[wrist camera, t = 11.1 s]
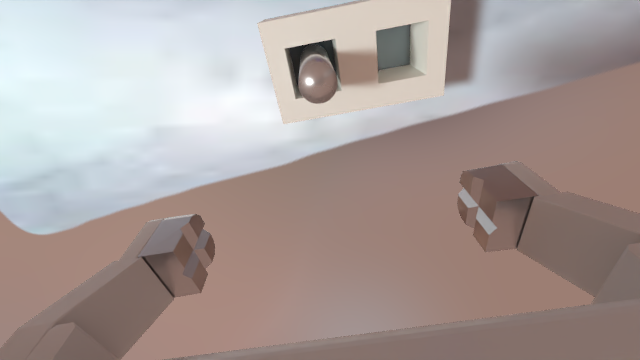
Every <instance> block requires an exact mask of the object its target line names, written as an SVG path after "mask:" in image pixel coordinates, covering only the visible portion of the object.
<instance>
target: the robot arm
mask: <svg viewBox="0 0 640 360" xmlns="http://www.w3.org/2000/svg"><path fill="white" fill-rule="evenodd" d="M460 184H461V185H462V186H463V187H464V189H463V190H462V191H461V192H460V193H459V194H458V202H457V204H458V210H459V213H460V216H461V218H462V220H463V221H464V223H465V224H466V225H468V226H470V227H472V228H474V233H473V235H474V237H475V238H476V240H477V241H478V243H479V244H480V245H481V247H482V248H483V250H484V251H485V252H491V251H500V250H508V249H517V250H518V251H519V252H521V253H523V254H524V255H526V256H528V257H529V258H531V259H533V260H535V261H536V262H538V263H539V264H541V265H543V266H544V267H546V268H548V269H549V270H551V271H552V272H554V273H556V274H557V275H559V276H561V277H562V278H564V279H566V280H568V281H569V282H571V283H572V284H574V285H576V286H577V287H579V288H581V289H582V290H584V291H586V292H587V293H589V294H590V295H592V296H594V297H595V298H594V300H593V301H592V303H591V304H590V305H583V306H575V307H567V308H560V309H552V310H544V311H536V312H529V313H520V314H513V315H506V316H497V317H490V318H482V319H474V320H467V321H459V322H452V323H443V324H436V325H428V326H420V327H413V328H405V329H398V330H389V331H382V332H374V333H367V334H359V335H351V336H343V337H335V338H328V339H320V340H313V341H304V342H296V343H289V344H282V345H273V346H266V347H258V348H250V349H242V350H234V351H227V352H219V353H211V354H203V355H196V356H188V357H181V358H172V359H164V360H640V213H637V212H633V211H630V210H626V209H623V208H620V207H616V206H613V205H610V204H607V203H603V202H600V201H597V200H593V199H590V198H587V197H583V196H580V195H577V194H574V193H570V192H562V193H561V192H560V191H558V190H557V189H556V188H555V187H553V186H552V185H551V184H549V183H548V182H547V181H545V180H544V179H543V178H541V177H540V176H539V175H538V174H536V173H535V172H534V171H532V170H531V169H530V168H528V167H527V166H526V165H524V164H523V163H521V162H518V161H515V162H510V163H504V164H499V165H497V166H491V167H484V168H478V169H472V170H467V171H463V172H462V174H461V177H460ZM204 224H205V223H204V221H203V220H202V218H201V216H200V215H197V214H193V215H185V216H178V217H170V218H165V219H158V220H152V221H149V222H147V223H146V224H145V225H144V227H143V228H142V229H141V231H140V232H139V233H138V235H137V236H136V238H135V239H134V240H133V242H132V243H131V245H130V246H129V247H128V249H127V250H126V251H125V253H124V254H123V256H122V257H121V258H120V260H119V261H114V262H112V263H111V264H109V265H108V266H106V267H105V268H104V269H102V270H101V271H99V272H98V273H97V274H95V275H94V276H92V277H91V278H89V279H88V280H86V281H85V282H84V283H82V284H81V285H79V286H78V287H77V288H75V289H74V290H72V291H71V292H69V293H68V294H67V295H65V296H64V297H62V298H61V299H59V300H58V301H57V302H55V303H54V304H52V305H51V306H49V307H48V308H47V309H45V310H44V311H42V312H41V313H39V314H38V315H36V316H35V317H34V318H32V319H31V320H29V321H28V322H26V323H25V324H24V325H22V326H21V327H19V328H18V329H17V330H16V331H15V332H14V334H13V335H12V336H11V337H10V338H9V339H8V340H7V341H6V343H5V344H4V345H3V346H2V347H1V348H0V360H121V359H122V357H123V356H124V355H125V354H126V353H127V352H128V351H129V349H130V348H131V347H132V346H133V345H134V344H135V343H136V341H137V340H138V339H139V338H140V337H141V336H142V335H143V334H144V332H145V331H146V330H147V329H148V328H149V327H150V326H151V325H152V323H153V322H154V321H155V320H156V319H157V318H158V317H159V316H160V314H161V313H162V312H163V311H164V310H165V309H166V308H167V306H168V305H169V304H170V303H171V302H172V301H173V300H174V297H180V296H186V295H192V294H197V293H201V292H202V289H203V286H204V283H205V281H206V278H207V275H208V273H207V271H206V268H207V267H208V266H209V265H210V264H211V263H212V261H213V258H214V255H215V244H214V240H213V238H212V236H211V234H210V233H209V232H207V231H205V230H204V229H203V227H204Z"/></svg>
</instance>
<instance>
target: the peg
mask: <svg viewBox="0 0 640 360" xmlns="http://www.w3.org/2000/svg"><path fill="white" fill-rule="evenodd" d="M298 86H299V91H300V93H301V95H302V96H303V97H304V98H305V99H306V100H307V101H309V102H311V103H315V104H321V103H325V102H327V101H329V100H330V99H331V98H332V97H333V96H334V94H335V93H336V90H337V86H338V80H337V76H336V74H335V71H334V69H333V66H332V64H331V61H330V59H329V56H328V54H327V52H326V50H325V49H324V48H323V47H322V46H320V45H316V44H313V45H309V46H307V47H306V48H305V49H304V50H303V51H302V54H301V58H300V69H299V81H298Z"/></svg>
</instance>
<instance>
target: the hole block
mask: <svg viewBox="0 0 640 360" xmlns="http://www.w3.org/2000/svg"><path fill="white" fill-rule="evenodd" d="M450 7H451V0H359V1H354V2H349V3H344V4H339V5H334V6H329V7H324V8H319V9H314V10H309V11H305V12H300V13H295V14H290V15H285V16H280V17H275V18H270V19H265V20H263V21H261V22H259V23H257V24H258V28H259V32H260V36H261V39H262V43H263V47H264V51H265V55H266V59H267V63H268V66H269V70H270V74H271V78H272V82H273V86H274V90H275V93H276V97H277V101H278V105H279V109H280V113H281V117H282V120H283V124H287V123H293V122H298V121H304V120H309V119H315V118H321V117H326V116H332V115H337V114H343V113H348V112H354V111H360V110H365V109H371V108H376V107H382V106H387V105H393V104H399V103H404V102H410V101H415V100H421V99H426V98H432V97H438V96H443V95H444V85H445V72H446V59H447V46H448V33H449V20H450ZM408 24H410V64H409V65H404V66H398V67H393V68H388V69H382V70H378V63H377V44H376V31H377V30H382V29H387V28H393V27H398V26H403V25H408ZM331 39H332V44H333V51H334V59H335V66H336V74H337V80H338V86H337V90H336V93H335V94H334V96H333V97H332V98H331V99H330V100H329V101H327V102H325V103H321V104H315V103H311V102H309V101H307V100H306V99H305V98H304V97H303V96H302V95H301V93H300V91H299V86H298V85H297V83H296V78H295V73H294V69H293V64H292V59H291V55H290V50H289V48H290V47H296V46H301V45H306V44H311V43H316V42H321V41H326V40H331Z"/></svg>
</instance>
